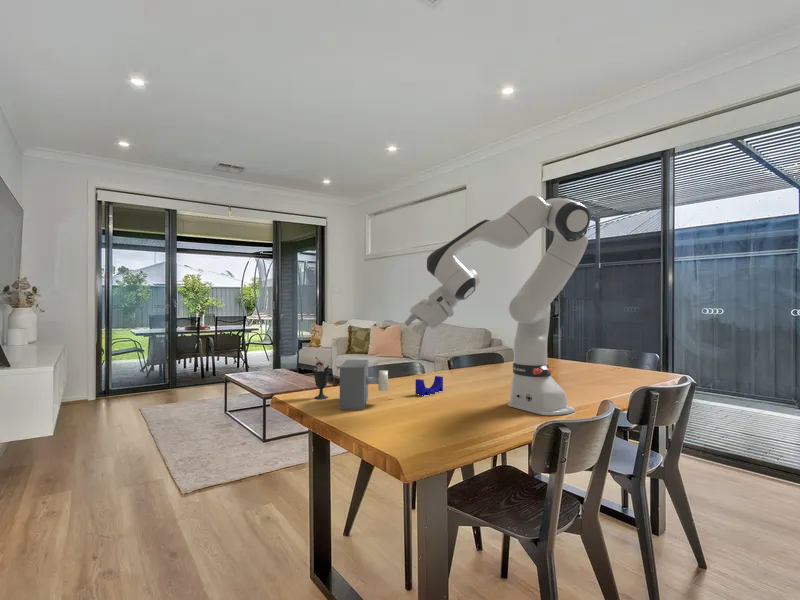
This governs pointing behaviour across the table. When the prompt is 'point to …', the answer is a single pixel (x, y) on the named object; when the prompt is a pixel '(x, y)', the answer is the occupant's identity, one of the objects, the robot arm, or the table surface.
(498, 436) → the table surface
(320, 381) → the sundae
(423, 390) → the blue u-shaped block
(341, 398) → the block
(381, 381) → the knob
